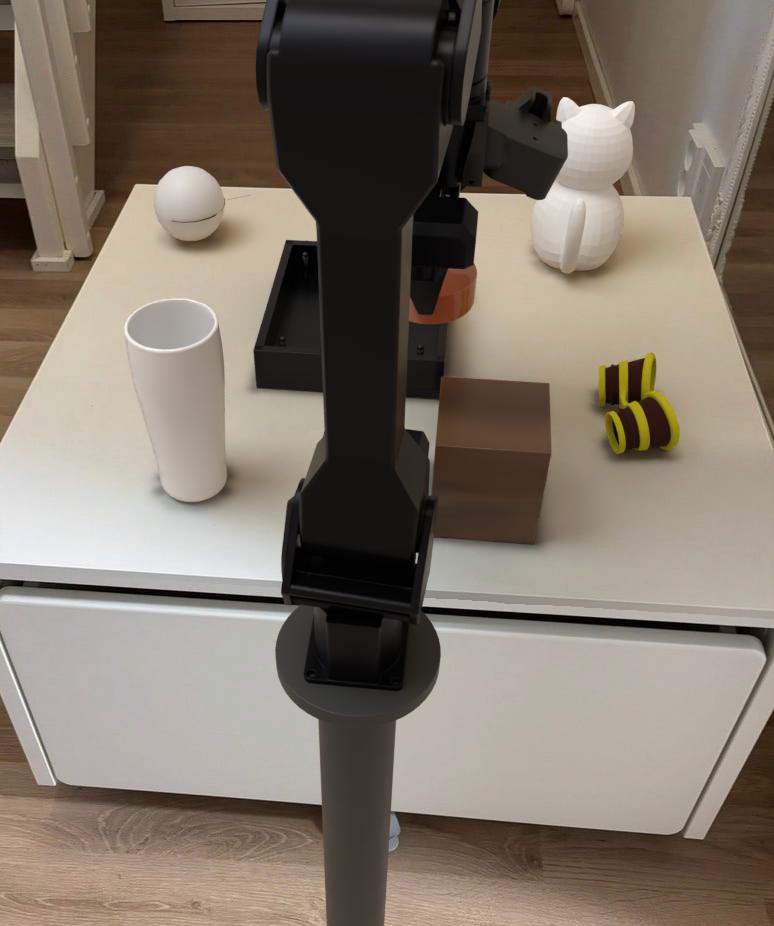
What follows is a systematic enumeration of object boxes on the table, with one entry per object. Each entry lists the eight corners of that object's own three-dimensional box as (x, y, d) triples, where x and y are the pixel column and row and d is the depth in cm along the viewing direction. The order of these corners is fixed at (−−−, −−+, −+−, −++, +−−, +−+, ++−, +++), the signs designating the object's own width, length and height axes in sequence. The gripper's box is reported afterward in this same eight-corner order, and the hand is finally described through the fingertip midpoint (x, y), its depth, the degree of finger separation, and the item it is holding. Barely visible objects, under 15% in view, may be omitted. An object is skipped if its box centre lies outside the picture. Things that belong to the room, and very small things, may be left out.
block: (534, 544, 77) (551, 453, 70) (427, 536, 78) (435, 445, 71) (533, 473, 82) (549, 382, 76) (433, 466, 83) (441, 375, 77)
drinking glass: (157, 456, 85) (128, 297, 74) (238, 454, 85) (222, 295, 74) (148, 513, 80) (116, 353, 69) (234, 511, 80) (216, 350, 69)
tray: (441, 399, 89) (445, 361, 86) (256, 388, 91) (253, 350, 88) (451, 284, 101) (454, 247, 98) (287, 276, 103) (285, 239, 100)
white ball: (155, 256, 106) (144, 188, 101) (162, 220, 111) (152, 153, 105) (251, 254, 106) (246, 186, 100) (254, 217, 111) (249, 151, 105)
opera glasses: (593, 397, 90) (591, 350, 86) (655, 387, 89) (656, 339, 86) (612, 470, 84) (611, 423, 80) (679, 460, 83) (681, 412, 79)
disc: (472, 327, 75) (475, 298, 73) (379, 321, 76) (380, 293, 74) (476, 276, 79) (479, 248, 78) (388, 271, 80) (389, 243, 78)
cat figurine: (616, 231, 107) (647, 83, 96) (616, 297, 99) (650, 143, 88) (529, 224, 109) (550, 78, 97) (522, 288, 100) (544, 137, 89)
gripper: (574, 145, 58) (537, 369, 70) (569, 18, 70) (538, 227, 82) (378, 137, 59) (374, 359, 71) (406, 13, 71) (399, 220, 83)
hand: (429, 286), depth 77 cm, fingers closed on disc, 7 cm apart
